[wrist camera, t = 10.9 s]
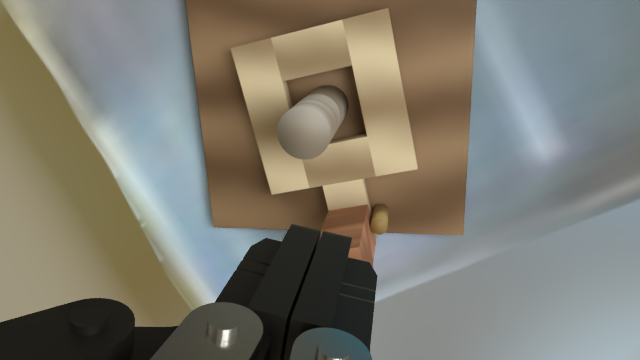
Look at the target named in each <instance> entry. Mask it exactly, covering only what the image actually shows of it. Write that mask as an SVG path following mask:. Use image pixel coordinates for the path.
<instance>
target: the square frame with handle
mask: <svg viewBox="0 0 640 360" xmlns="http://www.w3.org/2000/svg"><path fill="white" fill-rule="evenodd" d="M231 52H232V55H233V59H234V62H235V66H236V70H237V73H238V77H239V80H240V84H241V87H242V91H243V94H244V98H245V101H246V105H247V109H248V112H249V116H250V119H251V123H252V126H253V130H254V133H255V137H256V141H257V144H258V148H259V151H260V155H261V158H262V162H263V165H264V169H265V173H266V176H267V180H268V183H269V187H270V190H271V194H272V195H273V194H279V193H285V192H290V191H296V190H302V189H308V188H313V187H319V186H323V190H324V194H325V198H326V202H327V206H328V210H329V211H328V213H327V216H326V218H325V221H324V223H323V226H322V229H321V235H322V232H323V231H327V232H331V233H335V234H340V235H344V236H348V237H352V241H351V246H350V250H349V255H348V257H349V258H353V259H358V260H362V261H366V262H370V264H371V266H372V267H373V260H374V252H375V245H376V237H377V234H375V233H374V232H373V231H372V230H371V227H370V225H371V219H372V210H371V205H370V201H369V196H368V192H367V187H366V183H365V178H370V177H376V176H382V175H388V174H393V173H399V172H405V171H411V170H416V169H418V166H417V160H416V154H415V149H414V144H413V138H412V133H411V128H410V122H409V117H408V112H407V106H406V101H405V95H404V90H403V85H402V79H401V74H400V69H399V63H398V58H397V52H396V47H395V42H394V36H393V31H392V26H391V20H390V15H389V10H388V8H386V9H382V10H378V11H374V12H370V13H366V14H362V15H358V16H354V17H350V18H347V19H343V20H339V21H335V22H331V23H327V24H323V25H319V26H315V27H311V28H307V29H304V30H300V31H296V32H292V33H288V34H284V35H280V36H276V37H272V38H268V39H264V40H261V41H257V42H253V43H249V44H245V45H241V46H237V47H233V48H231ZM351 65H352V67H353V72H354V77H355V82H356V86H357V91H358V96H359V100H360V105H361V110H362V114H363V119H364V124H365V128H366V133H365V134H360V135H354V136H349V137H344V138H339V139H334V140H331V141H330V143H329V145H328V146H327V148H326V149H325V151H324V152H323V153H322V154H320V155H319V156H317V157H315V158H313V159H307V160H303V159H297V158H295V157H292V156H291V155H289V154H288V153H287V152H286V151H285V150H284V149H283V148H282V147H281V145H280V143H279V140H278V136H277V127H278V123H279V121H280V119H281V117H282V116H283V115H284V114H285V113H286V112H287V111H288V110H289V109H291V108H292V107H293V104H292V101H291V97H290V93H289V89H288V85H287V80H291V79H295V78H300V77H304V76H308V75H313V74H317V73H321V72H326V71H330V70H334V69H339V68H343V67H347V66H351ZM320 238H321V236H320Z"/></svg>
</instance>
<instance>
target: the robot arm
mask: <svg viewBox="0 0 640 360" xmlns="http://www.w3.org/2000/svg"><path fill="white" fill-rule="evenodd" d="M320 236H321V238H320ZM351 241H352V237H348V236H344V235H340V234H335V233H331V232H327V231H323V232H322V235H321V230H318V229H313V228H309V227H305V226H300V225H296V224H291V226H290V228H289V229H288V231H287V233H286V235H285V237H284V239H283V241H282V242H280V241H276V240H272V239H268V238H265V239H263V240H262V241H260V242H258V243H256V244H254V245H252V246H251V247H250V249H249V250H248V252H247V253H246V255H245V256H244V258H243V260H242V261H241V263H240V264H239V266H238V267H237V270H235V272H234V273H233V275H232V277H231V278H230V280H229V281H228V283H227V284H226V286H225V287H224V289H223V290H222V292H221V294H220V295H219V297H218V298H217V300H216V301H215V303H210V304H206V305H203V306H200V307H198V308H196V309H195V310H193V311H192V312H191V313H190V314H189V315H188V316H187V317H186V318H185V319H184V320H183V321H182V323H181V324H180V325H179V326H174V327H135V318H134V314H133V312H132V311H131V310H130V309H129V307H128V306H126V305H125V304H123V303H121V302H119V301H115V300H111V299H105V298H90V299H83V300H79V301H75V302H71V303H68V304H64V305H60V306H57V307H53V308H50V309H47V310H43V311H39V312H36V313H32V314H28V315H25V316H21V317H18V318H15V319H11V320H7V321H4V322H0V360H372V357H371V354H370V342H371V331H372V322H373V312H374V302H375V293H376V292H375V291H376V283H377V275H376V273H375V271H374V269H373V267H372V266H371V264H370V262H366V261H362V260H358V259H353V258H349V257H348V255H349V250H350V246H351Z"/></svg>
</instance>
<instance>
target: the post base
mask: <svg viewBox="0 0 640 360" xmlns="http://www.w3.org/2000/svg"><path fill="white" fill-rule="evenodd" d="M476 4H477V0H186V7H187V15H188V23H189V31H190V40H191V48H192V56H193V64H194V72H195V80H196V88H197V96H198V104H199V112H200V120H201V129H202V137H203V145H204V153H205V161H206V169H207V177H208V185H209V193H210V201H211V209H212V218H213V226H214V227H222V228H253V229H285V230H288V229H289V228H290V226H291V224H296V225H300V226H305V227H309V228H313V229H318V230H321V229H322V226H323V223H324V221H325V218H326V216H327V213H328V211H329V210H328V206H327V202H326V198H325V194H324V190H323V186H319V187H313V188H308V189H302V190H296V191H290V192H285V193H279V194H273V195H272V194H271V190H270V187H269V183H268V180H267V176H266V173H265V169H264V165H263V162H262V158H261V155H260V151H259V148H258V144H257V141H256V137H255V133H254V130H253V126H252V123H251V119H250V116H249V112H248V109H247V105H246V101H245V98H244V94H243V91H242V87H241V84H240V80H239V77H238V73H237V70H236V66H235V62H234V59H233V55H232V52H231V48H233V47H237V46H241V45H245V44H249V43H253V42H257V41H261V40H264V39H268V38H272V37H276V36H280V35H284V34H288V33H292V32H296V31H300V30H304V29H307V28H311V27H315V26H319V25H323V24H327V23H331V22H335V21H339V20H343V19H347V18H350V17H354V16H358V15H362V14H366V13H370V12H374V11H378V10H382V9H386V8H388V10H389V15H390V20H391V26H392V31H393V36H394V42H395V47H396V52H397V58H398V63H399V69H400V74H401V79H402V85H403V90H404V95H405V101H406V106H407V112H408V117H409V122H410V128H411V133H412V138H413V144H414V149H415V154H416V160H417V166H418V169H416V170H411V171H405V172H399V173H393V174H388V175H382V176H376V177H370V178H365V183H366V187H367V192H368V196H369V201H370V205H371V210H372V219H371V225H370V227H371V230H372V231H373V232H374V233H375V234H383V233H412V234H444V235H463V231H464V213H465V196H466V178H467V161H468V144H469V126H470V109H471V91H472V74H473V56H474V39H475V22H476ZM287 85H288V89H289V93H290V97H291V101H292V104H293V107H292V108H291V109H289V110H288V111H287V112H286V113H285V114H284V115H283V116H282V117H281V119H280V121H279V123H278V127H277V136H278V140H279V143H280V145H281V147H282V148H283V149H284V150H285V151H286V152H287V153H288V154H289V155H291V156H292V157H295V158H297V159H303V160H307V159H313V158H315V157H317V156H319V155H320V154H322V153H323V152H324V151H325V149H326V148H327V146H328V145H329V143H330V141H331V140H334V139H339V138H344V137H349V136H354V135H360V134H365V133H366V128H365V124H364V119H363V114H362V110H361V105H360V100H359V96H358V91H357V86H356V82H355V77H354V72H353V67H352V65H351V66H347V67H343V68H339V69H334V70H330V71H326V72H321V73H317V74H313V75H308V76H304V77H300V78H295V79H291V80H287Z"/></svg>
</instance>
